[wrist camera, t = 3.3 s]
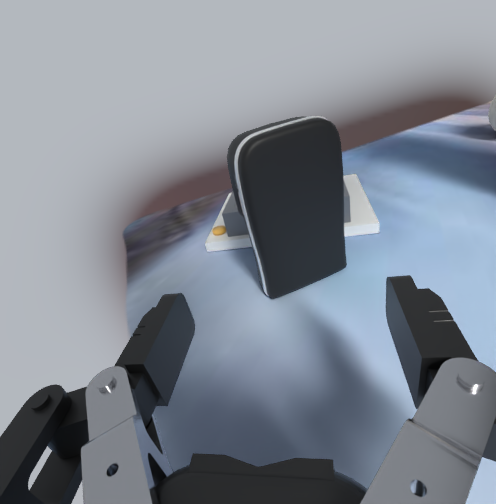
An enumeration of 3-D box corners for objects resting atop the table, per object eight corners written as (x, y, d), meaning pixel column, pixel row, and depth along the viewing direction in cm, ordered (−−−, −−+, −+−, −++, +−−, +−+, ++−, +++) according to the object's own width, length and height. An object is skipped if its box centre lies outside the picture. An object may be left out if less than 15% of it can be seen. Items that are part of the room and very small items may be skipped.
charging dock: (356, 181, 38) (355, 153, 36) (379, 233, 27) (379, 195, 25) (231, 200, 42) (224, 174, 40) (207, 252, 31) (197, 220, 29)
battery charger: (323, 249, 27) (309, 107, 21) (351, 269, 24) (343, 109, 18) (250, 278, 25) (213, 135, 20) (269, 304, 22) (232, 142, 16)
